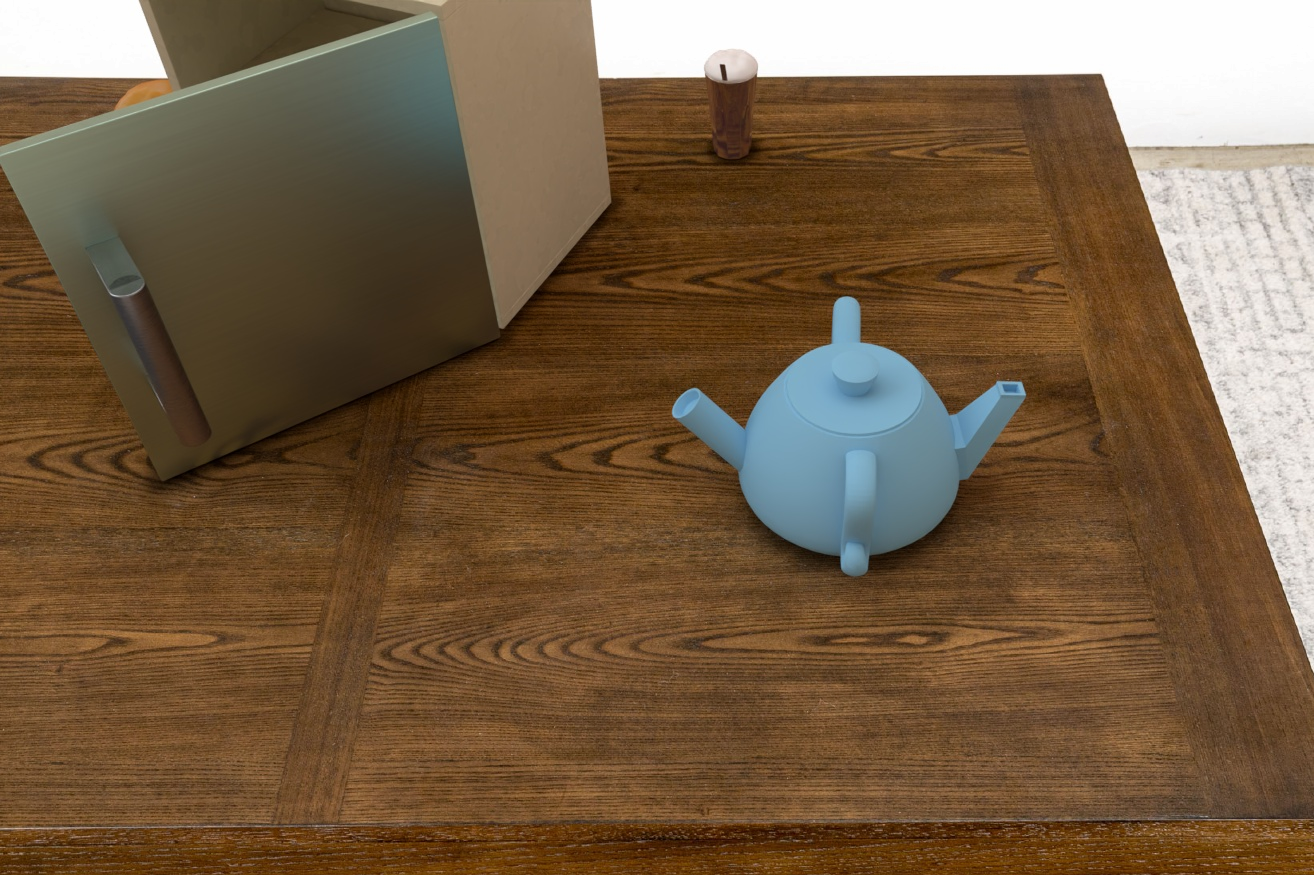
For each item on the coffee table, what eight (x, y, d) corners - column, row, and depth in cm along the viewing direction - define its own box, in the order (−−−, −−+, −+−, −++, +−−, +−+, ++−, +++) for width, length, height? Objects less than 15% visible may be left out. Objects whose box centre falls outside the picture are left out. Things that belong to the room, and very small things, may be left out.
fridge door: (538, 381, 93) (482, 56, 74) (190, 537, 83) (23, 210, 64) (495, 330, 97) (431, 10, 78) (157, 473, 87) (-8, 148, 68)
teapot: (809, 370, 93) (815, 246, 85) (1013, 480, 85) (1040, 355, 77) (669, 490, 85) (659, 366, 77) (878, 623, 77) (892, 501, 69)
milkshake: (699, 166, 111) (695, 61, 104) (713, 133, 115) (710, 29, 108) (749, 172, 111) (749, 66, 103) (762, 139, 114) (763, 35, 107)
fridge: (503, 329, 97) (441, 5, 78) (232, 250, 105) (114, -62, 86) (611, 202, 108) (580, -109, 89) (359, 139, 116) (280, -159, 97)
